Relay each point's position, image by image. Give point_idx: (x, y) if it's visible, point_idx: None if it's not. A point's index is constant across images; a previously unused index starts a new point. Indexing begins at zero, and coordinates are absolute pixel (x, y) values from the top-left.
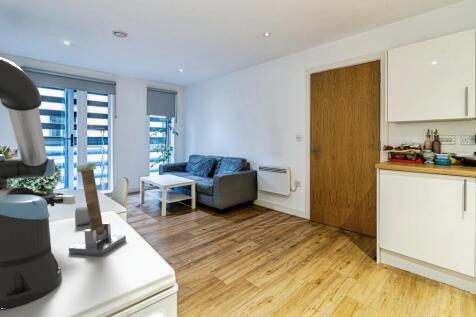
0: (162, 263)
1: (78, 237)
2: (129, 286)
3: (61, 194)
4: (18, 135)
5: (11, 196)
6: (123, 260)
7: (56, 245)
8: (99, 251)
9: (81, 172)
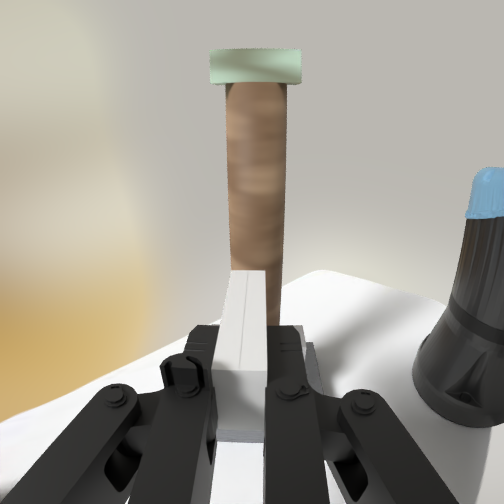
0: (300, 277)
1: None
2: (371, 284)
3: (134, 391)
4: None
5: None
6: (311, 317)
7: None
8: (313, 349)
9: (284, 88)
